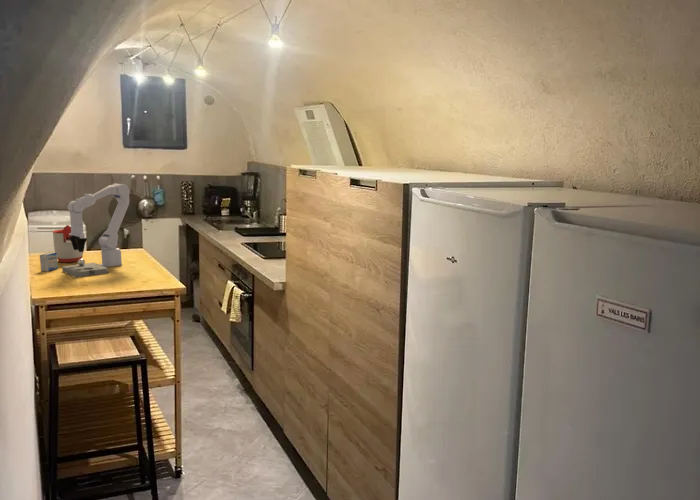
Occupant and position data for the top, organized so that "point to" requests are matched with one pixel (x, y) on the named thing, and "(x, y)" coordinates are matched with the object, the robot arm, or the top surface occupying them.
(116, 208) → the robot arm
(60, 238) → the citrus juicer
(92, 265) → the board
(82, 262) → the ball
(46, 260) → the medicine box
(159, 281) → the top surface
